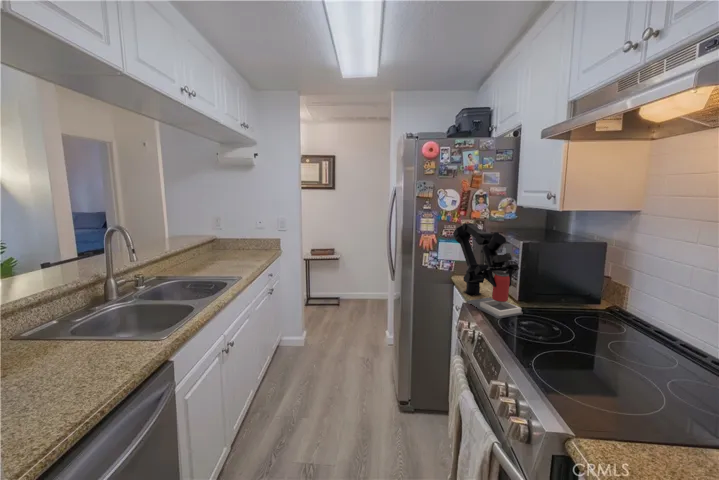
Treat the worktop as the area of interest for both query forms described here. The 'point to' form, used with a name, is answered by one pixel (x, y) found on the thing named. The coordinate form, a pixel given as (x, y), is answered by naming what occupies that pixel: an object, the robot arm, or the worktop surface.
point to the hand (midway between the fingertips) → (502, 286)
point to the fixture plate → (496, 307)
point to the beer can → (501, 287)
